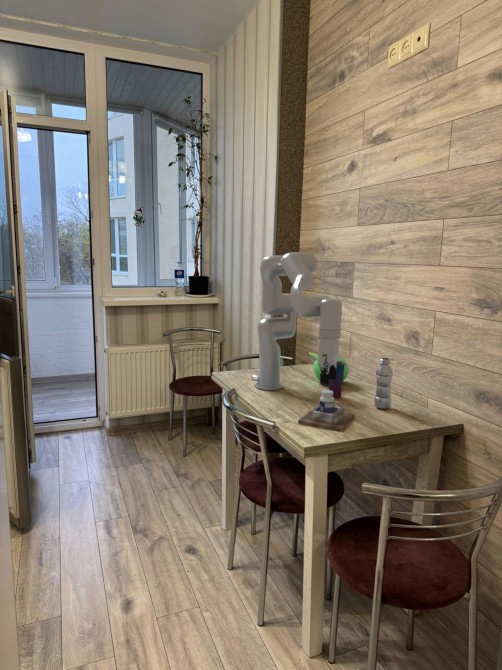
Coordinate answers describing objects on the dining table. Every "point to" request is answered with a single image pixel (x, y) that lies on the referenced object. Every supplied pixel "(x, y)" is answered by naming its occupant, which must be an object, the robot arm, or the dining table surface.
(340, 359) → the green round vessel
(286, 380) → the dining table surface
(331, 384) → the cup
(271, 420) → the dining table surface
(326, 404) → the pill bottle
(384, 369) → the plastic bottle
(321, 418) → the square frame tray
